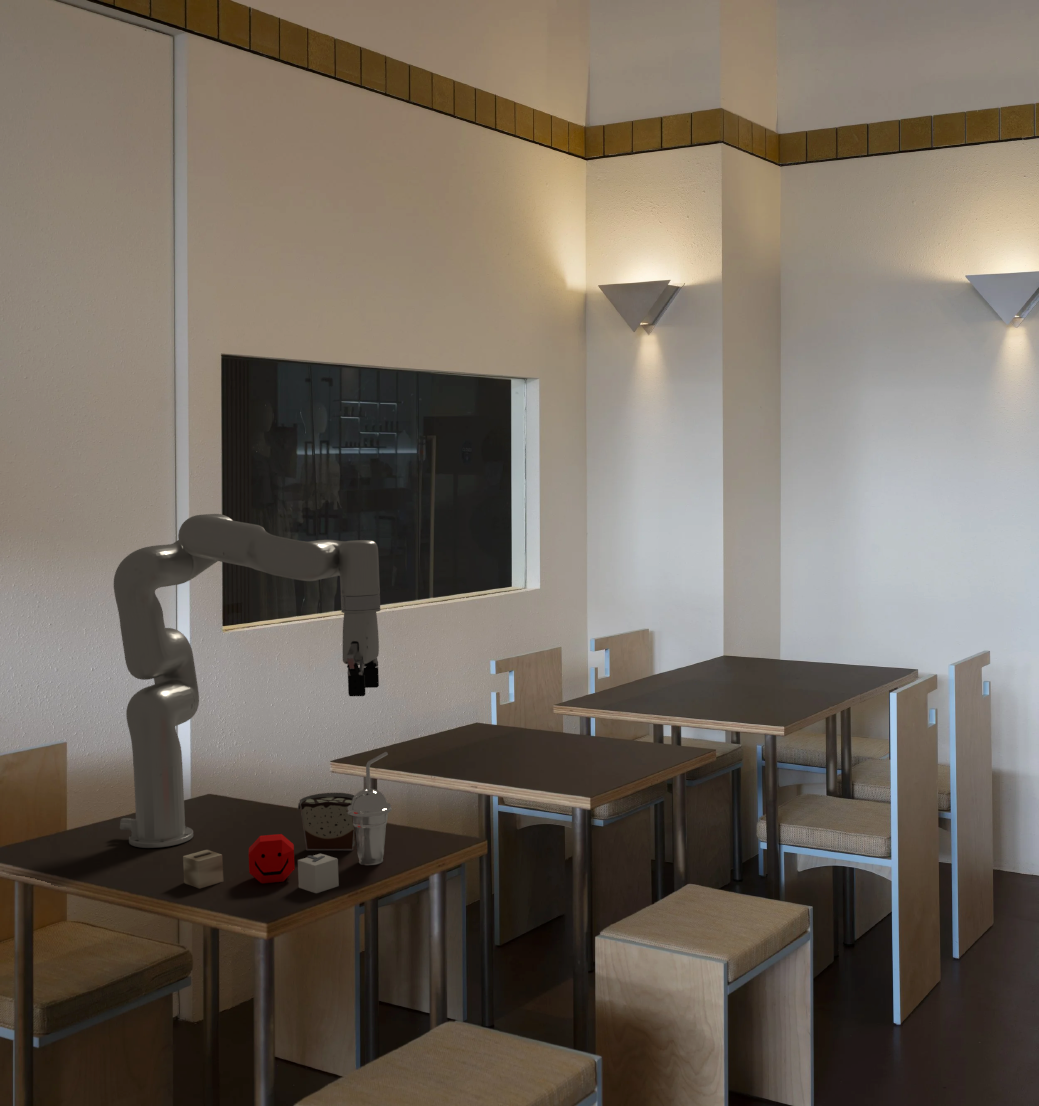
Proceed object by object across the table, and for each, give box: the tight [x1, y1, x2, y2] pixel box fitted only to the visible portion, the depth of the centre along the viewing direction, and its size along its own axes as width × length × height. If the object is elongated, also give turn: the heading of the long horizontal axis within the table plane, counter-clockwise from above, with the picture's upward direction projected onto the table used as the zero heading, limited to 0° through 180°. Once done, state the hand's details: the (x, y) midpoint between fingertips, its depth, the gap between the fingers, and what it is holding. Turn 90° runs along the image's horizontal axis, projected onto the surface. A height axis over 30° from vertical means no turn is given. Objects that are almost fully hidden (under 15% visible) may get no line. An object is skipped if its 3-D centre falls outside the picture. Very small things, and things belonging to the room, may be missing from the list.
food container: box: [297, 792, 356, 851], centre depth 241 cm, size 12×6×10 cm, turn 84°
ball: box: [248, 833, 296, 884], centre depth 221 cm, size 8×8×8 cm
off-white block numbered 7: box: [297, 853, 340, 894], centre depth 216 cm, size 5×5×5 cm
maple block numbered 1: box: [182, 849, 224, 889], centre depth 221 cm, size 5×5×5 cm
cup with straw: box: [347, 751, 393, 866], centre depth 229 cm, size 8×9×20 cm
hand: (364, 691), depth 237 cm, fingers open, 9 cm apart
